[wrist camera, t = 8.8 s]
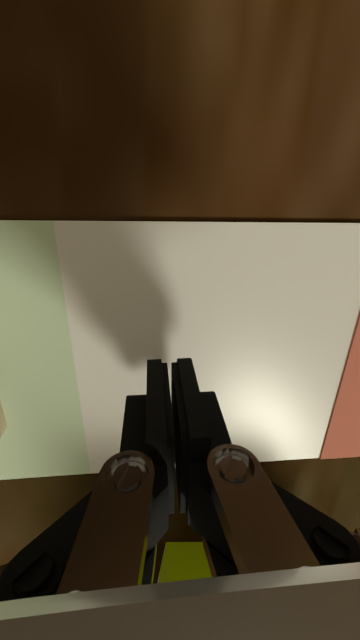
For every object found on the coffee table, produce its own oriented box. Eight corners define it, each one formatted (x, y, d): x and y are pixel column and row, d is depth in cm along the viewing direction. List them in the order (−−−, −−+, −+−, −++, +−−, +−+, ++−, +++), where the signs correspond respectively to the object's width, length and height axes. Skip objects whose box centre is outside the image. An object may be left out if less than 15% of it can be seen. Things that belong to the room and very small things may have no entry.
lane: (318, 456, 16) (319, 457, 16) (-173, 489, 14) (-176, 492, 14) (382, 223, 11) (384, 223, 11) (-355, 217, 9) (-361, 217, 9)
